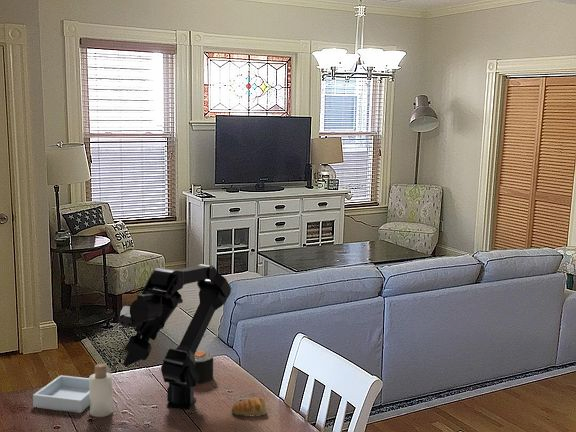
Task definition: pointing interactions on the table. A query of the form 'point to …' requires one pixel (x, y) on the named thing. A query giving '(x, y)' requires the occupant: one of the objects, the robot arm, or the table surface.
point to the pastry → (250, 407)
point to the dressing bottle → (101, 392)
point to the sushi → (204, 365)
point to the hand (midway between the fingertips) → (128, 355)
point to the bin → (64, 394)
